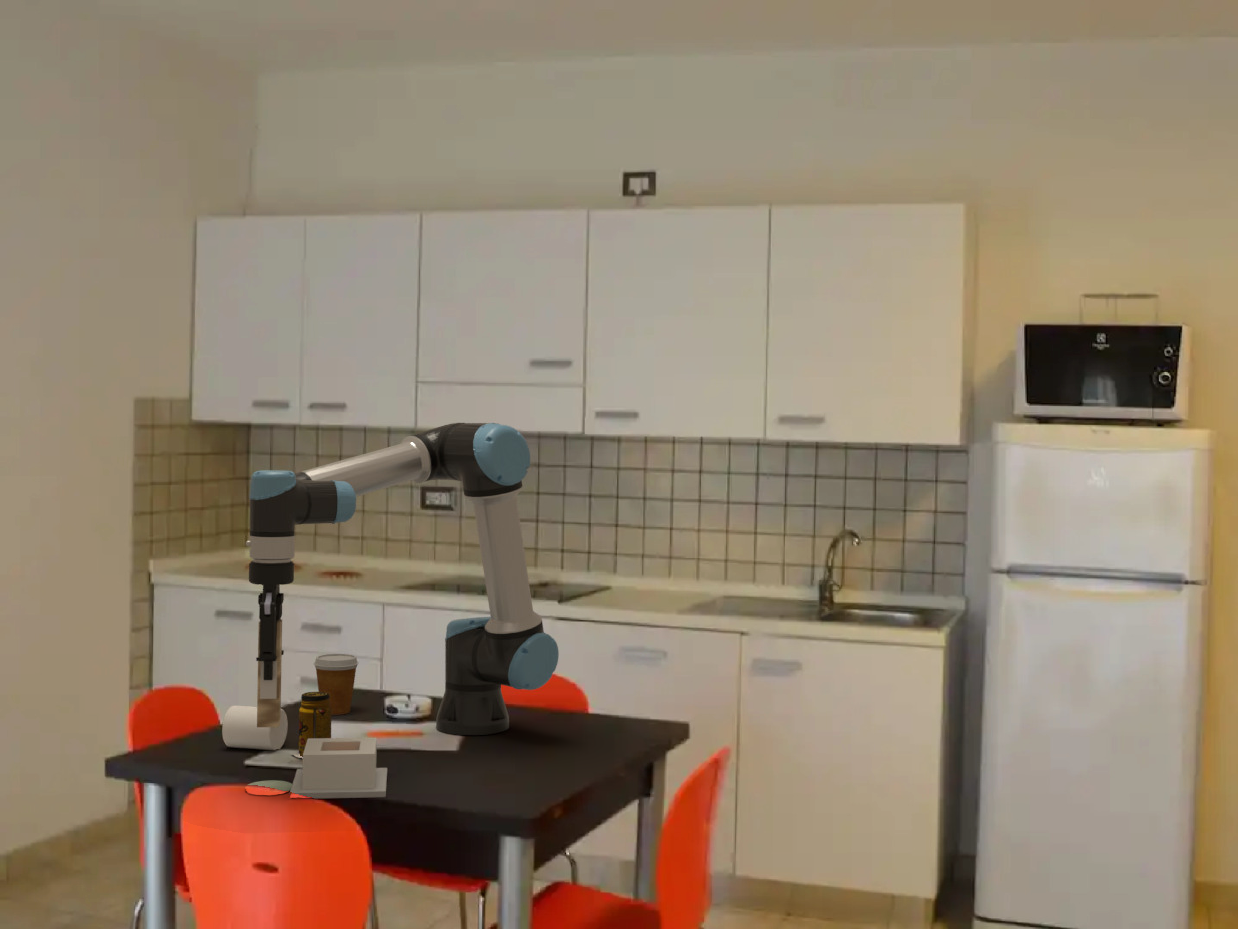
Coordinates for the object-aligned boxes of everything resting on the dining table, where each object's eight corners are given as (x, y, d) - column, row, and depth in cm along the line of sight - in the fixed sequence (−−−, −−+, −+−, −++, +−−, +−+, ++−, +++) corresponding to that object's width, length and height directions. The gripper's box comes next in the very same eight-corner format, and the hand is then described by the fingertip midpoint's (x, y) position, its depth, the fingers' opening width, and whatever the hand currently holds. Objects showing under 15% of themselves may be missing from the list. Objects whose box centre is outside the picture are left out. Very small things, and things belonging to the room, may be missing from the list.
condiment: (289, 755, 268) (290, 693, 267) (328, 749, 274) (329, 687, 273) (309, 763, 262) (310, 699, 262) (348, 756, 268) (349, 693, 268)
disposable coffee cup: (364, 709, 310) (365, 655, 310) (346, 718, 301) (347, 662, 300) (324, 706, 312) (325, 652, 312) (305, 715, 303) (306, 659, 303)
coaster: (294, 783, 248) (294, 780, 248) (290, 795, 240) (290, 792, 240) (247, 784, 247) (247, 780, 247) (242, 796, 239) (242, 793, 239)
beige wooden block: (280, 722, 245) (282, 619, 244) (278, 727, 241) (280, 622, 241) (259, 722, 244) (260, 619, 244) (256, 727, 241) (258, 622, 240)
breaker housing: (387, 773, 256) (387, 735, 256) (385, 797, 240) (386, 756, 240) (297, 774, 254) (297, 736, 253) (289, 799, 238) (290, 757, 238)
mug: (269, 754, 268) (270, 713, 268) (221, 751, 270) (222, 709, 270) (296, 740, 280) (297, 701, 280) (250, 737, 282) (250, 697, 282)
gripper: (254, 555, 249) (252, 686, 250) (243, 565, 233) (241, 706, 234) (297, 555, 251) (295, 686, 251) (289, 565, 234) (287, 705, 235)
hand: (269, 695), depth 243 cm, fingers closed on beige wooden block, 4 cm apart
